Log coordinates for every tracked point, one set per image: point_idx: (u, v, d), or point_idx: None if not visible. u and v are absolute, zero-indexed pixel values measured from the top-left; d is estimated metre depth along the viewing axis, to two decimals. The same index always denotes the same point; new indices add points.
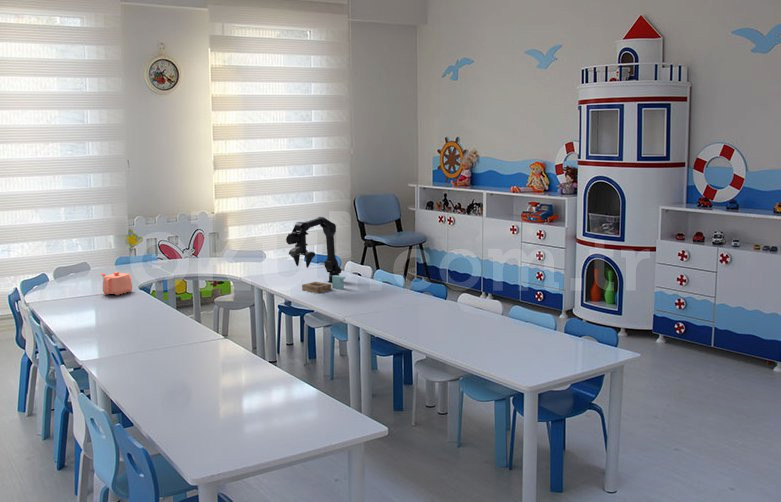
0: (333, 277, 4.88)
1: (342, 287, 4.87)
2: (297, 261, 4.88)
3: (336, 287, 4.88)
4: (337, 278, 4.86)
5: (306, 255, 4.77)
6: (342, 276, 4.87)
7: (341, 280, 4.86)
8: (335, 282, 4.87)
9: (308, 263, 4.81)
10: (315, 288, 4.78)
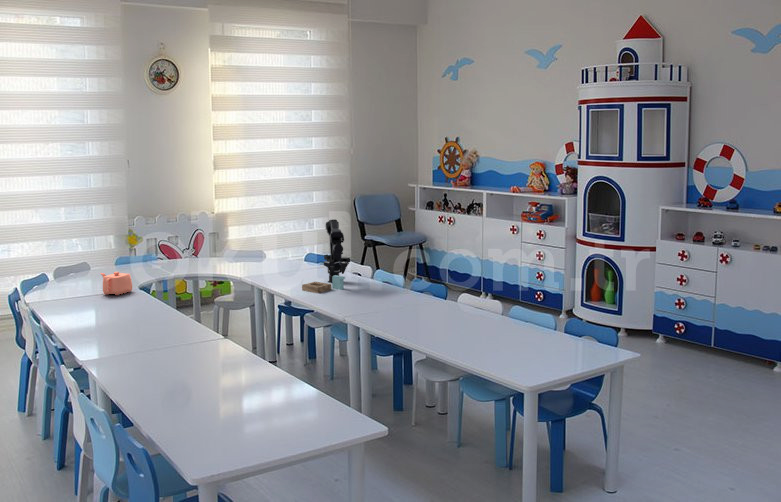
0: (333, 277, 4.88)
1: (342, 287, 4.87)
2: (342, 269, 4.90)
3: (336, 287, 4.88)
4: (337, 278, 4.86)
5: None
6: (342, 276, 4.87)
7: (341, 280, 4.86)
8: (335, 282, 4.87)
9: (331, 272, 4.83)
10: (315, 288, 4.78)
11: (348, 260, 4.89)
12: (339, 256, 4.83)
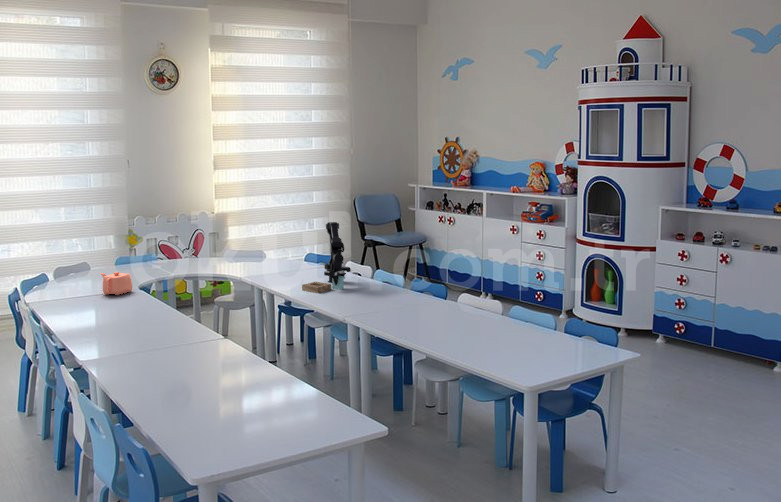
0: None
1: (342, 287, 4.87)
2: None
3: (336, 287, 4.88)
4: None
5: None
6: (342, 276, 4.87)
7: (341, 280, 4.86)
8: None
9: (335, 281, 4.86)
10: (315, 288, 4.78)
11: (348, 269, 4.90)
12: (339, 266, 4.84)
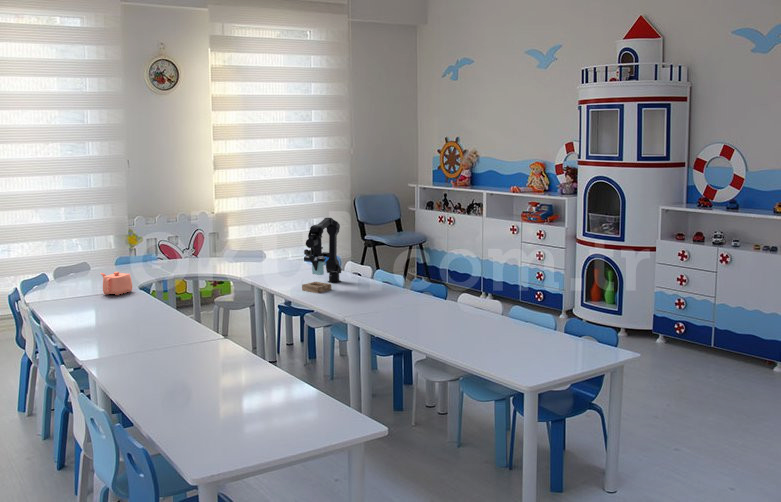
0: None
1: (322, 273, 4.82)
2: None
3: (316, 273, 4.83)
4: None
5: None
6: None
7: (321, 265, 4.81)
8: None
9: (314, 266, 4.81)
10: (315, 288, 4.78)
11: (328, 255, 4.86)
12: (319, 251, 4.80)
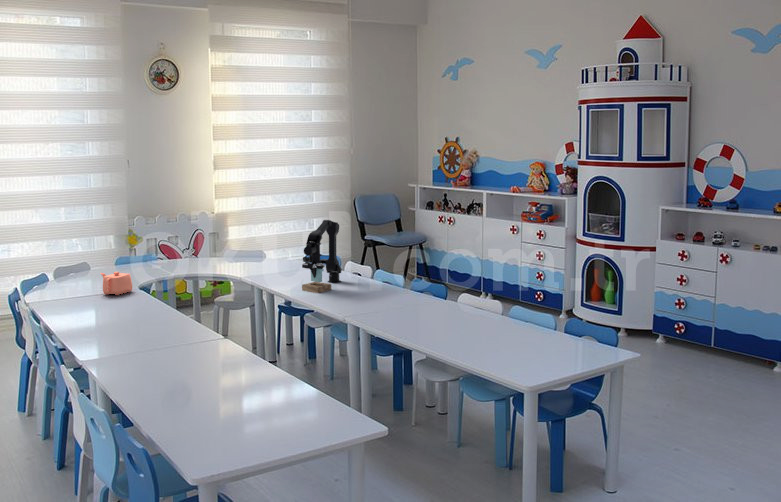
0: None
1: (321, 280, 4.83)
2: None
3: (314, 280, 4.84)
4: None
5: None
6: None
7: (319, 272, 4.82)
8: None
9: (313, 273, 4.82)
10: (315, 288, 4.78)
11: (327, 262, 4.86)
12: (318, 258, 4.80)
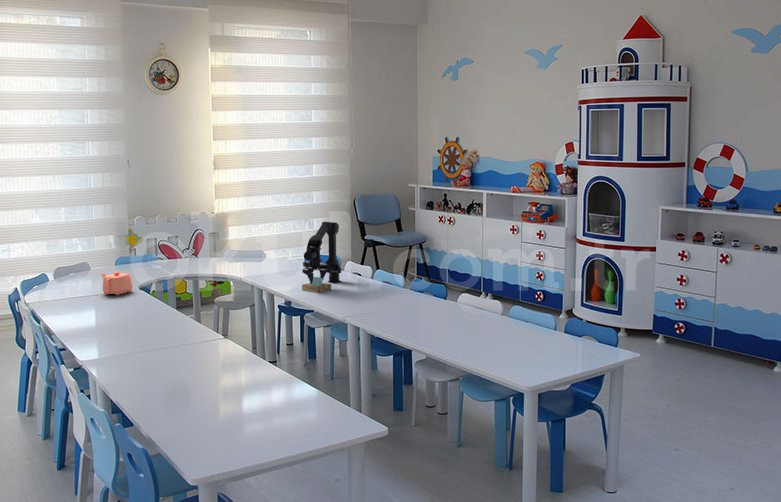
0: None
1: None
2: (321, 276, 4.88)
3: None
4: (316, 279, 4.83)
5: None
6: None
7: (320, 281, 4.82)
8: (314, 284, 4.84)
9: (310, 279, 4.80)
10: (315, 288, 4.78)
11: (327, 267, 4.87)
12: (318, 263, 4.81)
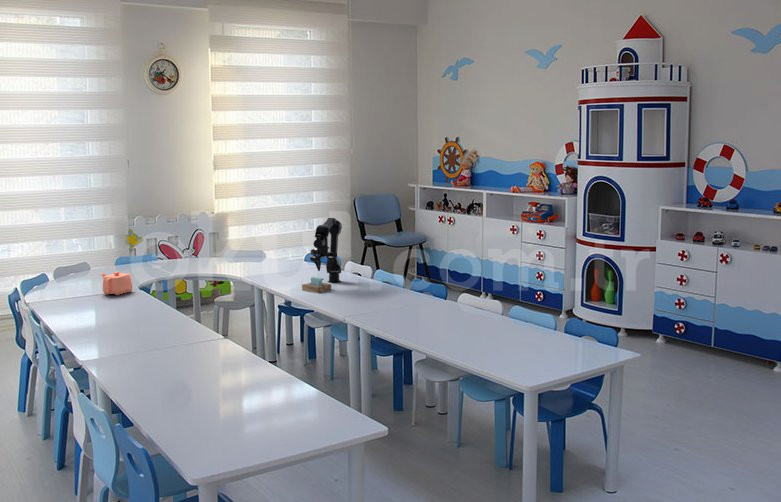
0: (312, 278, 4.85)
1: None
2: (329, 264, 4.91)
3: None
4: (316, 279, 4.83)
5: None
6: None
7: (320, 281, 4.82)
8: (314, 284, 4.84)
9: (317, 267, 4.83)
10: (315, 288, 4.78)
11: (335, 255, 4.90)
12: (325, 251, 4.83)
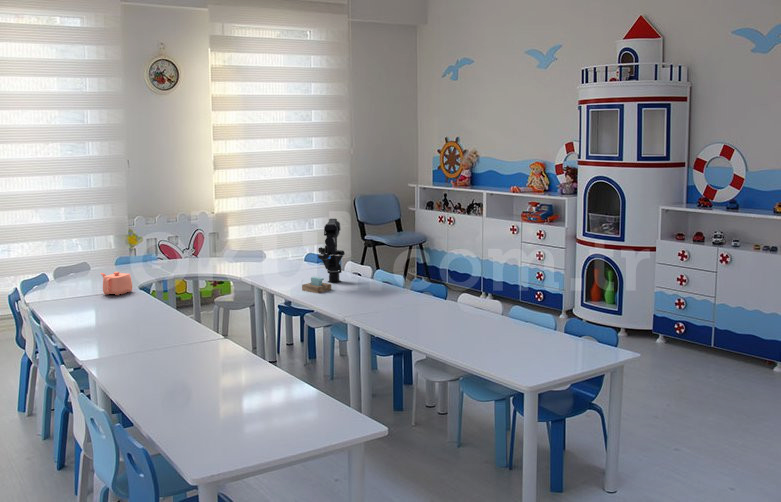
0: (312, 278, 4.85)
1: None
2: (336, 262, 4.94)
3: None
4: (316, 279, 4.83)
5: None
6: None
7: (320, 281, 4.82)
8: (314, 284, 4.84)
9: (325, 264, 4.87)
10: (315, 288, 4.78)
11: (342, 253, 4.93)
12: (333, 249, 4.87)
